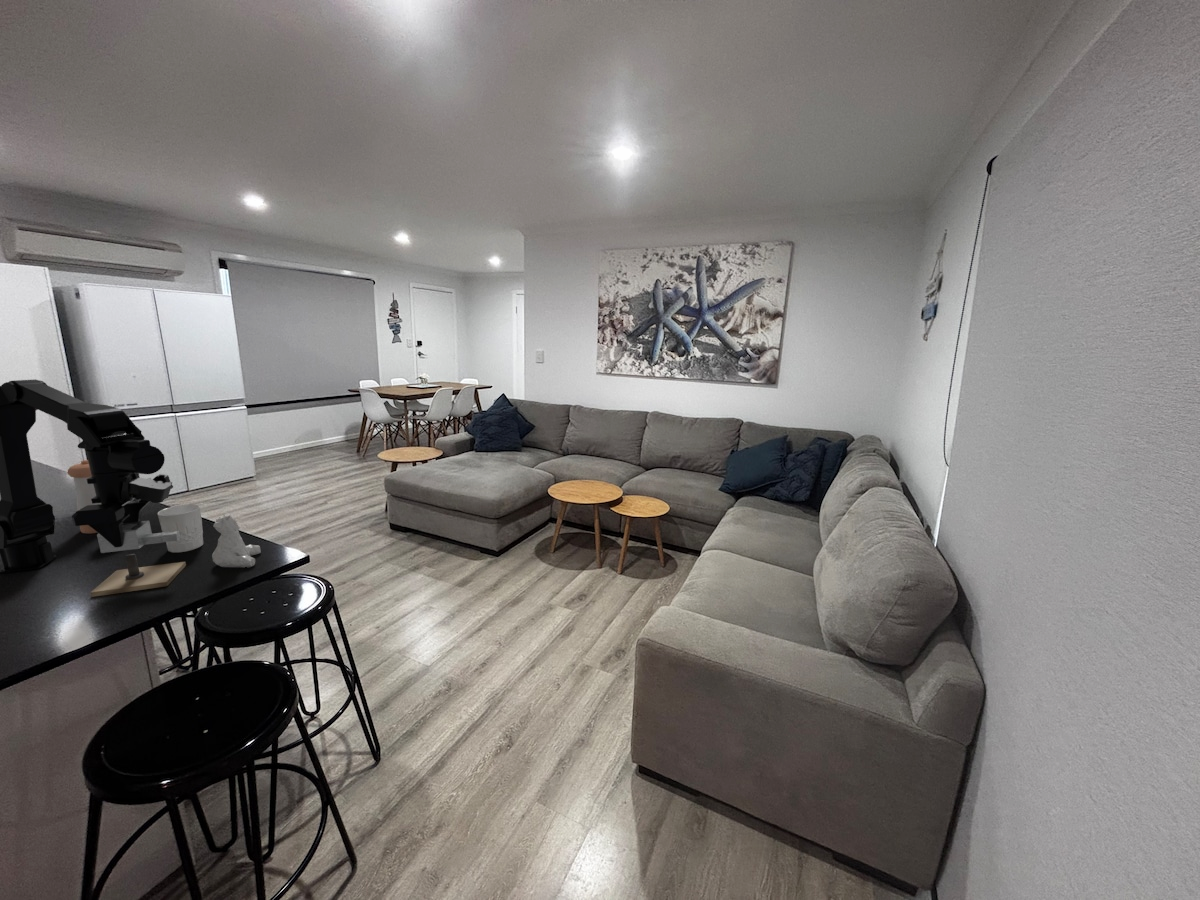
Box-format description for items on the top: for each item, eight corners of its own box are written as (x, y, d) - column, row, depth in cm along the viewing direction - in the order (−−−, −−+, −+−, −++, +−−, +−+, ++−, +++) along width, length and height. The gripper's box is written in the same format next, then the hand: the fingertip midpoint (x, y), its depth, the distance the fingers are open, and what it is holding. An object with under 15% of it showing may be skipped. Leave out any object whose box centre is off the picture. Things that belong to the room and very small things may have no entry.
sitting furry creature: (254, 567, 107) (246, 519, 105) (207, 574, 104) (198, 524, 101) (262, 551, 116) (255, 505, 113) (219, 557, 112) (210, 510, 109)
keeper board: (91, 596, 94) (84, 569, 92) (117, 574, 103) (111, 549, 101) (167, 586, 99) (162, 560, 97) (186, 565, 107) (181, 541, 106)
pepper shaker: (127, 524, 129) (112, 457, 125) (97, 534, 122) (80, 464, 118) (104, 522, 130) (88, 456, 126) (72, 532, 123) (55, 463, 119)
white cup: (182, 555, 112) (174, 516, 110) (156, 552, 114) (148, 513, 111) (214, 542, 120) (208, 505, 117) (189, 539, 121) (183, 503, 119)
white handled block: (101, 553, 94) (96, 534, 94) (116, 541, 100) (112, 524, 99) (173, 544, 99) (169, 527, 98) (184, 534, 104) (181, 517, 103)
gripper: (140, 479, 89) (155, 553, 93) (180, 456, 106) (191, 520, 110) (61, 484, 85) (80, 562, 89) (115, 460, 102) (129, 526, 105)
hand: (126, 540), depth 98 cm, fingers closed on white handled block, 6 cm apart
